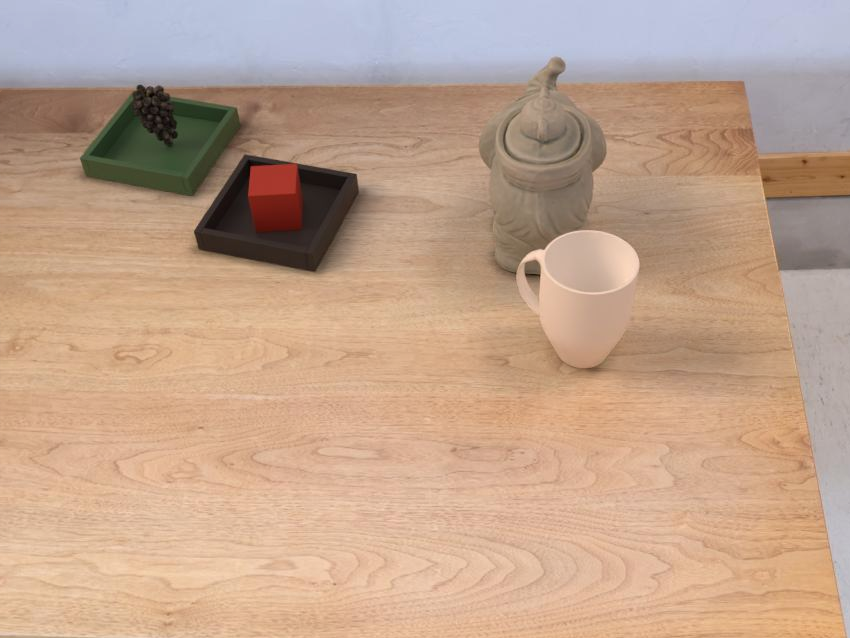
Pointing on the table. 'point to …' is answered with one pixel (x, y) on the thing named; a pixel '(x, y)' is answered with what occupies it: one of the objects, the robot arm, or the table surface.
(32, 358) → the table surface
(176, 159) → the green tray
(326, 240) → the black tray
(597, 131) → the lidded stone jar
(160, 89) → the fruit
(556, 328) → the mug
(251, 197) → the red block
